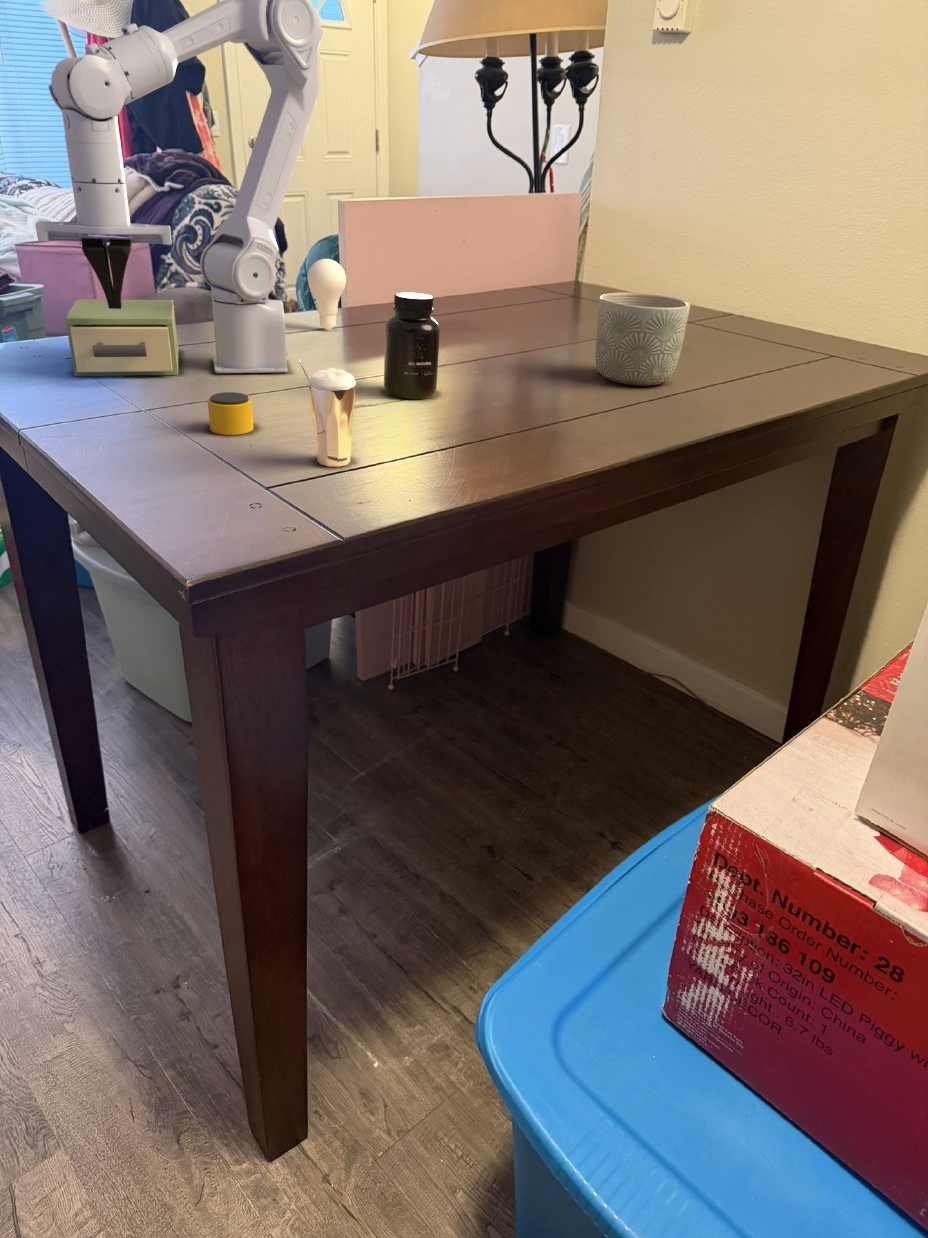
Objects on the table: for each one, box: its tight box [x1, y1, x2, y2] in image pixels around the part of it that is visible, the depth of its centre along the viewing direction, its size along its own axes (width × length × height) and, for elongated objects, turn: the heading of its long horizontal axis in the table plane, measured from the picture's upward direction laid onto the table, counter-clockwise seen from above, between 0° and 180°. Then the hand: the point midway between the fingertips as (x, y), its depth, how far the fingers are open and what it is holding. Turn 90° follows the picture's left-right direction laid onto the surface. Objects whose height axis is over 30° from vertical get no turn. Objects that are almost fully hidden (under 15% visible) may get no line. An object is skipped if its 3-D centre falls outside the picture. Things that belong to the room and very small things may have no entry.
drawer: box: [70, 325, 172, 372], centre depth 113 cm, size 17×11×5 cm
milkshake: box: [298, 359, 357, 468], centre depth 85 cm, size 4×5×10 cm
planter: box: [595, 292, 691, 387], centre depth 123 cm, size 12×12×11 cm
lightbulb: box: [307, 258, 347, 331], centre depth 142 cm, size 6×6×11 cm
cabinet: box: [64, 298, 179, 377], centre depth 116 cm, size 14×13×7 cm
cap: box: [207, 391, 254, 436], centre depth 94 cm, size 5×5×4 cm
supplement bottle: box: [383, 292, 441, 400], centre depth 109 cm, size 7×7×12 cm
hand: (115, 307), depth 105 cm, fingers closed
